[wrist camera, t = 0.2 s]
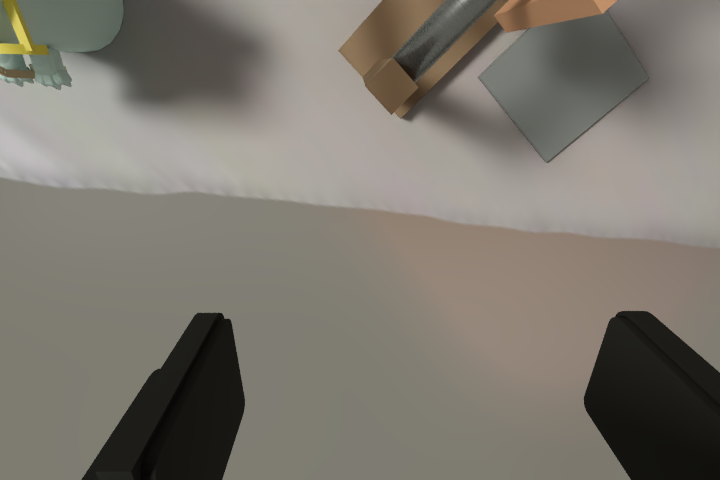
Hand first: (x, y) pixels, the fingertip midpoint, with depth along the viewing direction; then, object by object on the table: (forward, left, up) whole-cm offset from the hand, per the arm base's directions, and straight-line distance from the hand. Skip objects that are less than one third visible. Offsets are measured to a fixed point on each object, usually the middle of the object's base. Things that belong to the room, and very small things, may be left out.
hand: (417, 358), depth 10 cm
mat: (-16, +8, -31) cm, 36 cm away
